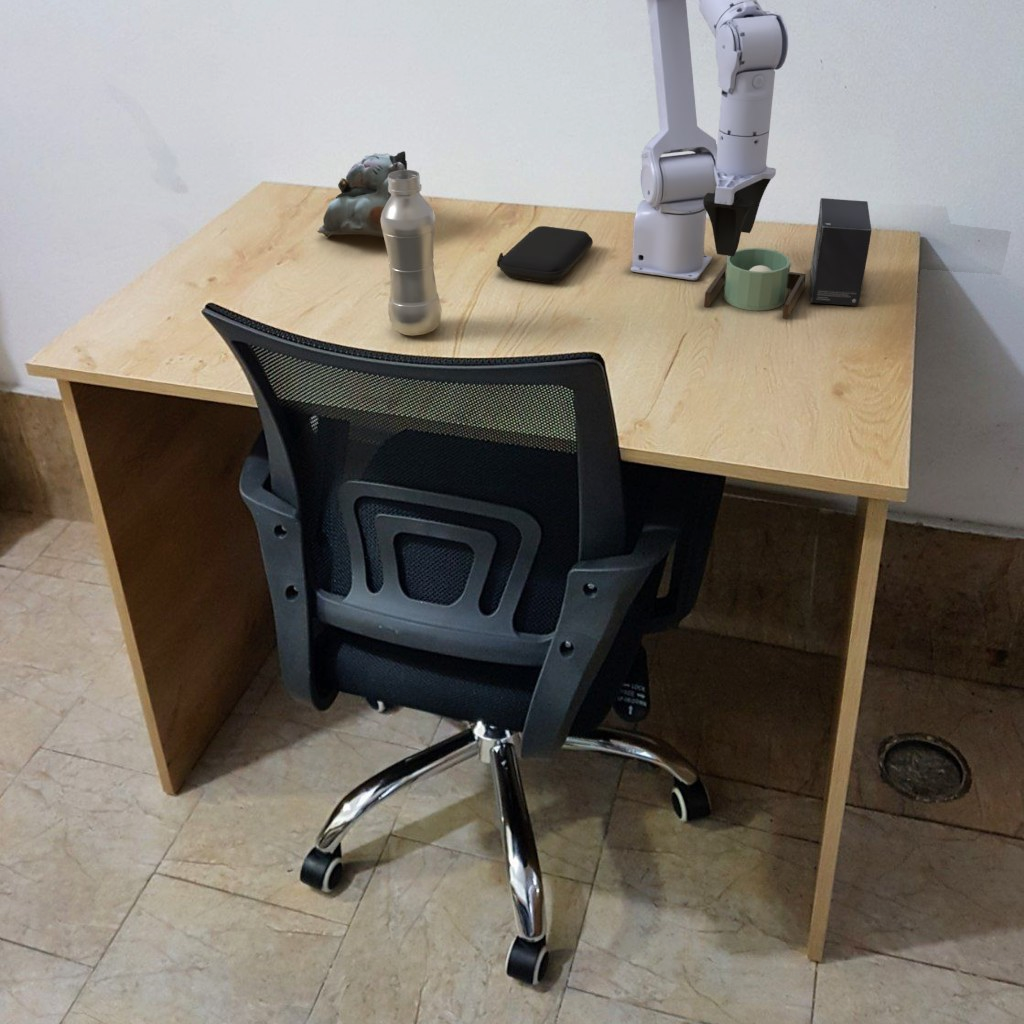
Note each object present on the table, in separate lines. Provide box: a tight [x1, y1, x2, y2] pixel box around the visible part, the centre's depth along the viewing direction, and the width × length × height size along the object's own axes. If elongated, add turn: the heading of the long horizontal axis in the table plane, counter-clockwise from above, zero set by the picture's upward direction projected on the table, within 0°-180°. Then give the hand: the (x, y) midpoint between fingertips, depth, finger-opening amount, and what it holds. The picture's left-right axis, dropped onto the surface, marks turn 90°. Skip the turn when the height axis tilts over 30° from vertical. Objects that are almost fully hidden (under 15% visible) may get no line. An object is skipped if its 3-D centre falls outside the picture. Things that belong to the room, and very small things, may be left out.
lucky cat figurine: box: [316, 150, 408, 238], centre depth 168 cm, size 15×12×14 cm
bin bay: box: [703, 263, 807, 320], centre depth 148 cm, size 11×10×2 cm
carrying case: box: [496, 225, 594, 284], centre depth 159 cm, size 11×3×15 cm
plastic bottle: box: [380, 169, 443, 336], centre depth 138 cm, size 6×7×20 cm
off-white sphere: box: [749, 265, 772, 272], centre depth 146 cm, size 4×4×4 cm
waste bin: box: [723, 247, 792, 312], centre depth 147 cm, size 8×8×5 cm
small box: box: [809, 197, 873, 307], centre depth 147 cm, size 11×6×10 cm, turn 168°
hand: (734, 242), depth 137 cm, fingers open, 7 cm apart
